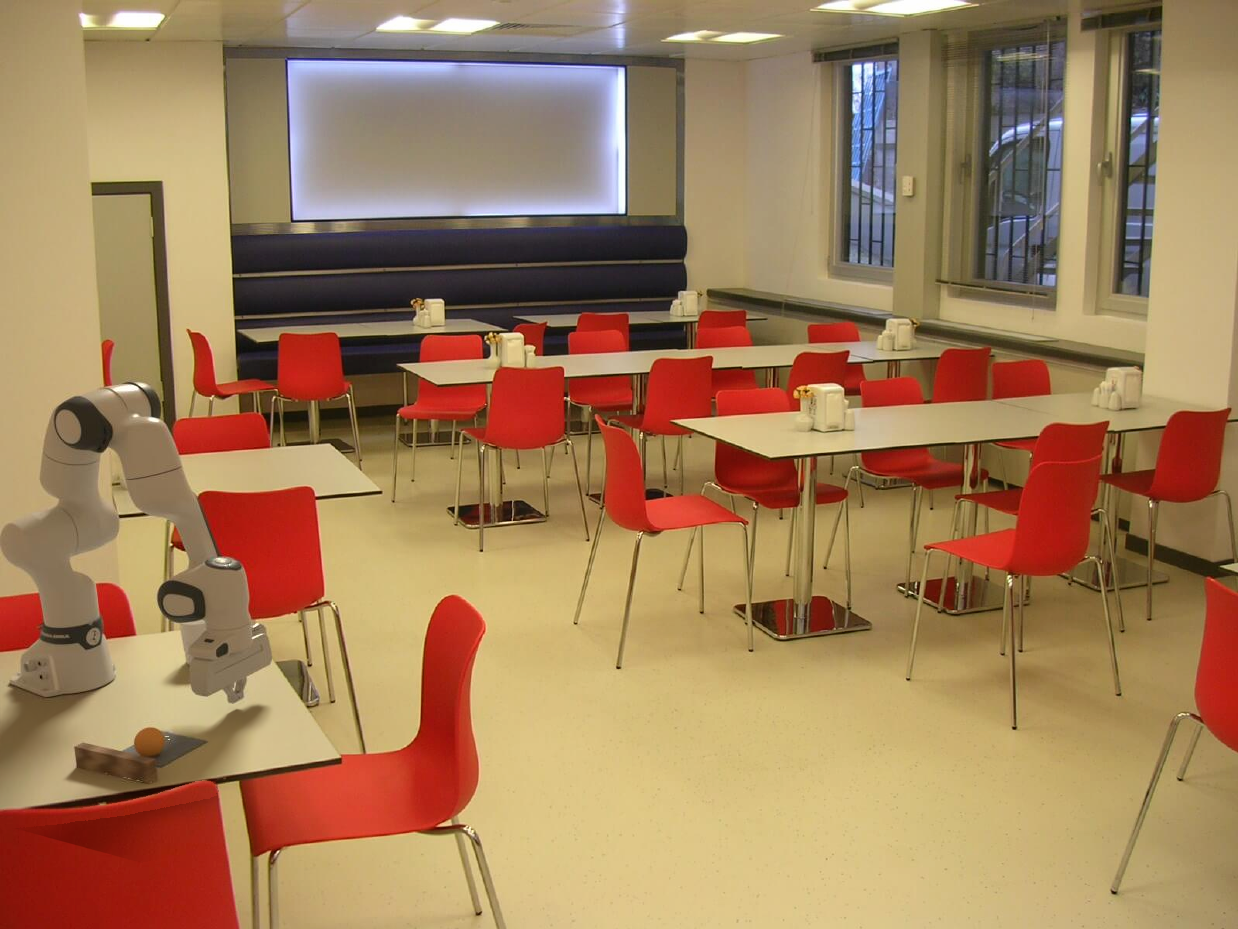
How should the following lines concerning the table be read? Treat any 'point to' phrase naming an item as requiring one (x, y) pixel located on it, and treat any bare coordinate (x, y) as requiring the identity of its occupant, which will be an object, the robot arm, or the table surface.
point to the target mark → (172, 748)
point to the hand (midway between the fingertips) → (235, 700)
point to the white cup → (191, 635)
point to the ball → (149, 742)
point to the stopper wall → (115, 762)
